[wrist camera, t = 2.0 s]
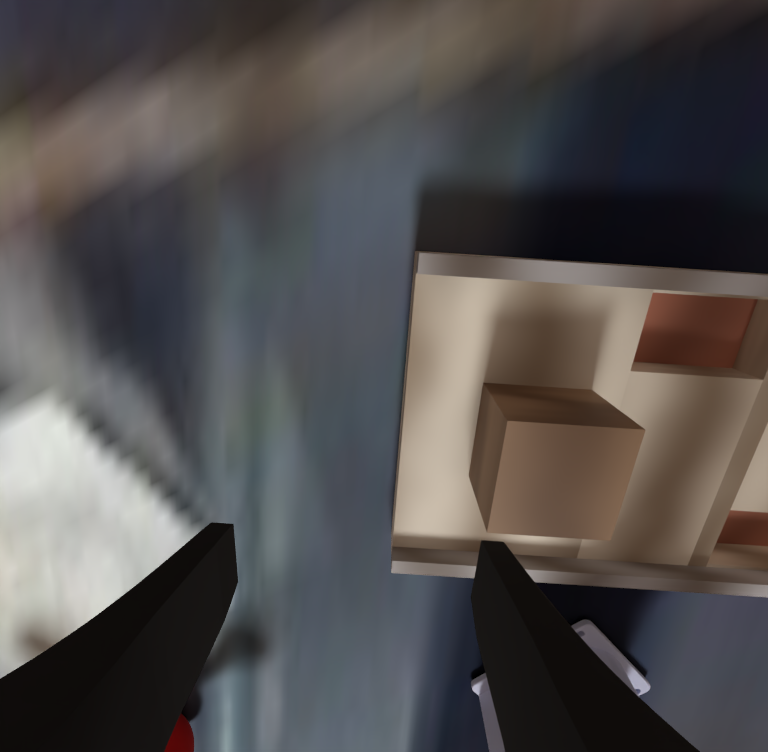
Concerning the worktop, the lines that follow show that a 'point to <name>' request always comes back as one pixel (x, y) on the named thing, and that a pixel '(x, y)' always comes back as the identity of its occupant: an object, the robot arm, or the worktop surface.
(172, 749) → the molecular model
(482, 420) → the walnut block
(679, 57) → the worktop surface
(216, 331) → the worktop surface
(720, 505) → the board
